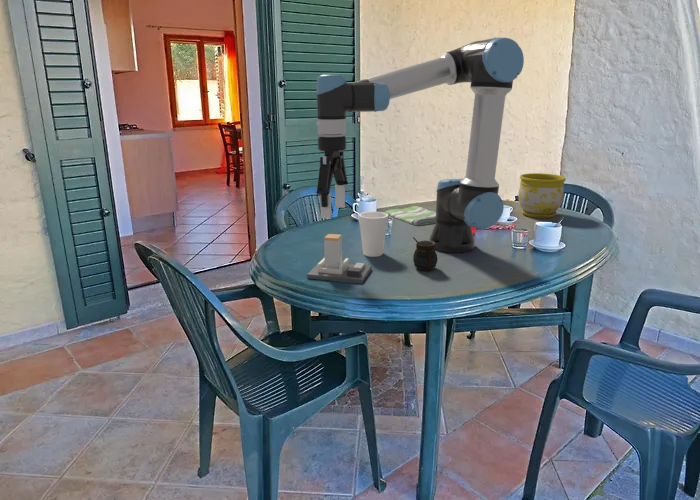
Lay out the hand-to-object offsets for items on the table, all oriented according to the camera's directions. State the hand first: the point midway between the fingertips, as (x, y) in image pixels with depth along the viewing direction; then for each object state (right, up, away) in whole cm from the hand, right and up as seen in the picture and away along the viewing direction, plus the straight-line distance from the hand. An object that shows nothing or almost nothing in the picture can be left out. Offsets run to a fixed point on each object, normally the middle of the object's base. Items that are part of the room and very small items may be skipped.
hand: (333, 212), depth 143 cm
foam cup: (+12, -12, +23) cm, 29 cm away
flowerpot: (+85, +4, +74) cm, 113 cm away
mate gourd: (+27, -16, +9) cm, 33 cm away
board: (+2, -17, +5) cm, 18 cm away
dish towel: (+32, +3, +71) cm, 78 cm away
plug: (0, -16, +5) cm, 17 cm away
